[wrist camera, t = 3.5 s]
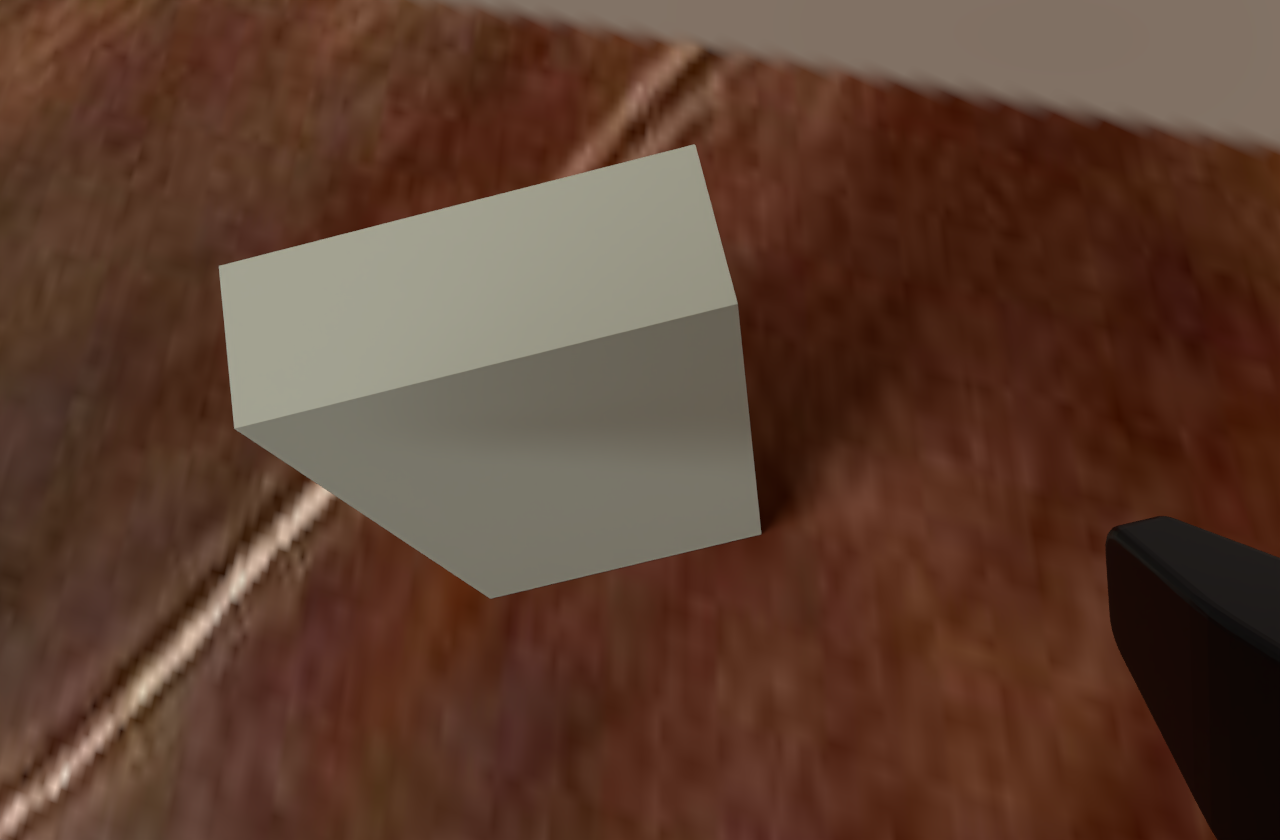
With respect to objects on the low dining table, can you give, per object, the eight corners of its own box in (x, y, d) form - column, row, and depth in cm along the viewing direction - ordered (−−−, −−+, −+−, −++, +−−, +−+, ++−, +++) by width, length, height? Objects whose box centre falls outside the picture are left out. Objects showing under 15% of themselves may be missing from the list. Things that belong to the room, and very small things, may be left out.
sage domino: (761, 534, 20) (738, 303, 11) (490, 598, 20) (234, 428, 11) (737, 440, 21) (696, 143, 11) (474, 504, 21) (218, 266, 12)
